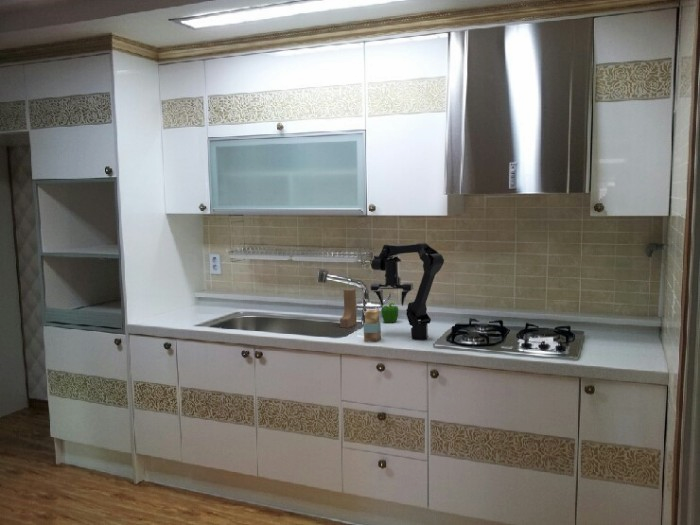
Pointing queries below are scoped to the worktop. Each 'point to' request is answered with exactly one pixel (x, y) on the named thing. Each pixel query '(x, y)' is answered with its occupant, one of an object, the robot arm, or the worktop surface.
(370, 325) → the top block
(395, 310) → the bell pepper
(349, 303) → the wooden block
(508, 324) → the worktop surface
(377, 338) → the base block
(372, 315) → the oak cube
